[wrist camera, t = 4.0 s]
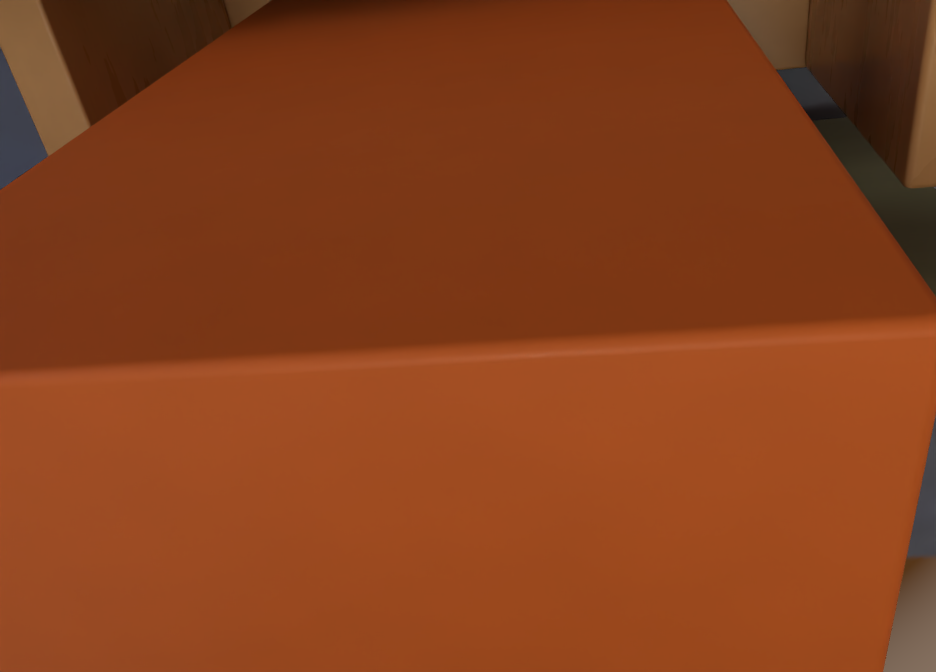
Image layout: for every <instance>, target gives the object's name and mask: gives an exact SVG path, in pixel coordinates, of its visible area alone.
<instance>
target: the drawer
mask: <svg viewBox="0 0 936 672" xmlns="http://www.w3.org/2000/svg"><path fill="white" fill-rule="evenodd" d="M270 1H271V0H0V47H1V49H2V51H3V54H4V56H5V58H6V60H7V63H8V65H9V67H10V70H11V72H12V74H13V76H14V79H15V81H16V83H17V85H18V88H19V90H20V92H21V95H22V97H23V99H24V101H25V104H26V106H27V108H28V111H29V113H30V115H31V117H32V120H33V122H34V124H35V127H36V129H37V131H38V133H39V136H40V138H41V140H42V143H43V145H44V147H45V149H46V152H47V154H48V156H50V155H51V154H53V153H54V152H55V151H57V150H58V149H60V148H61V147H63V146H64V145H65V144H67V143H68V142H70V141H71V140H73V139H74V138H75V137H77V136H78V135H80V134H81V133H83V132H84V131H85V130H87V129H88V128H90V127H91V126H93V125H94V124H95V123H97V122H98V121H100V120H101V119H103V118H104V117H105V116H107V115H108V114H110V113H111V112H113V111H114V110H115V109H117V108H118V107H120V106H121V105H123V104H124V103H125V102H127V101H128V100H130V99H131V98H133V97H134V96H135V95H137V94H138V93H140V92H141V91H143V90H144V89H145V88H147V87H148V86H150V85H151V84H153V83H154V82H155V81H157V80H158V79H160V78H161V77H163V76H164V75H165V74H167V73H168V72H170V71H171V70H173V69H174V68H176V67H177V66H178V65H180V64H181V63H183V62H184V61H186V60H187V59H188V58H190V57H191V56H193V55H194V54H196V53H197V52H198V51H200V50H201V49H203V48H204V47H206V46H207V45H208V44H210V43H211V42H213V41H214V40H216V39H217V38H218V37H220V36H221V35H223V34H224V33H226V32H227V31H228V30H230V29H231V28H233V27H234V26H236V25H237V24H238V23H240V22H241V21H243V20H244V19H246V18H247V17H248V16H250V15H251V14H253V13H254V12H256V11H257V10H258V9H260V8H261V7H263V6H264V5H266V4H267V3H268V2H270ZM727 1H728V3H729V4H730V6H731V7H732V8H733V10H734V11H735V13H736V14H737V16H738V17H739V18H740V20H741V21H742V23H743V24H744V25H745V27H746V28H747V30H748V31H749V33H750V34H751V35H752V37H753V38H754V40H755V41H756V42H757V44H758V45H759V47H760V48H761V50H762V51H763V52H764V54H765V55H766V57H767V58H768V59H769V61H770V62H771V64H772V65H773V67H774V68H775V69H776V70H784V69H793V68H802V67H807V69H808V70H809V71H810V72H811V74H812V75H813V76H814V77H815V79H816V80H817V81H818V82H819V83H820V85H821V86H822V87H823V88H824V89H825V91H826V92H827V93H828V94H829V96H830V97H831V98H832V99H833V100H834V102H835V103H836V104H837V105H838V107H839V108H840V109H841V110H842V111H843V113H844V114H845V115H846V116H847V117H845V118H835V119H825V120H815V121H812V122H813V123H814V125H815V126H816V127H817V129H818V130H819V132H820V133H821V135H822V136H823V137H824V139H825V140H826V142H827V143H828V144H829V146H830V147H831V149H832V150H833V152H834V153H835V154H836V156H837V157H838V159H839V160H840V161H841V163H842V164H843V166H844V167H845V169H846V170H847V171H848V173H849V174H850V176H851V177H852V178H853V180H854V181H855V183H856V184H857V186H858V187H859V188H860V190H861V191H862V193H863V194H864V196H865V197H866V198H867V200H868V201H869V203H870V204H871V205H872V207H873V208H874V210H875V211H876V213H877V214H878V215H879V217H880V218H881V220H882V221H883V222H884V224H885V225H886V227H887V228H888V230H889V231H890V232H891V234H892V235H893V237H894V238H895V239H896V241H897V242H898V244H899V245H900V247H901V248H902V249H903V251H904V252H905V254H906V255H907V256H908V258H909V259H910V261H911V262H912V264H913V265H914V266H915V268H916V269H917V271H918V272H919V273H920V275H921V276H922V278H923V279H924V281H925V282H926V283H927V285H928V286H929V288H930V289H931V290H932V292H933V293H934V295H935V296H936V189H935V188H934V187H936V0H727Z"/></svg>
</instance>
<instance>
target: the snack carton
mask: <svg viewBox="0 0 936 672" xmlns="http://www.w3.org/2000/svg"><path fill="white" fill-rule="evenodd" d="M935 415H936V296H935V295H934V293H933V292H932V290H931V289H930V288H929V286H928V285H927V283H926V282H925V281H924V279H923V278H922V276H921V275H920V273H919V272H918V271H917V269H916V268H915V266H914V265H913V264H912V262H911V261H910V259H909V258H908V256H907V255H906V254H905V252H904V251H903V249H902V248H901V247H900V245H899V244H898V242H897V241H896V239H895V238H894V237H893V235H892V234H891V232H890V231H889V230H888V228H887V227H886V225H885V224H884V222H883V221H882V220H881V218H880V217H879V215H878V214H877V213H876V211H875V210H874V208H873V207H872V205H871V204H870V203H869V201H868V200H867V198H866V197H865V196H864V194H863V193H862V191H861V190H860V188H859V187H858V186H857V184H856V183H855V181H854V180H853V178H852V177H851V176H850V174H849V173H848V171H847V170H846V169H845V167H844V166H843V164H842V163H841V161H840V160H839V159H838V157H837V156H836V154H835V153H834V152H833V150H832V149H831V147H830V146H829V144H828V143H827V142H826V140H825V139H824V137H823V136H822V135H821V133H820V132H819V130H818V129H817V127H816V126H815V125H814V123H813V122H812V120H811V119H810V118H809V116H808V115H807V113H806V112H805V110H804V109H803V108H802V106H801V105H800V103H799V102H798V101H797V99H796V98H795V96H794V95H793V93H792V92H791V91H790V89H789V88H788V86H787V85H786V84H785V82H784V81H783V79H782V78H781V76H780V75H779V74H778V72H777V71H776V69H775V68H774V67H773V65H772V64H771V62H770V61H769V59H768V58H767V57H766V55H765V54H764V52H763V51H762V50H761V48H760V47H759V45H758V44H757V42H756V41H755V40H754V38H753V37H752V35H751V34H750V33H749V31H748V30H747V28H746V27H745V25H744V24H743V23H742V21H741V20H740V18H739V17H738V16H737V14H736V13H735V11H734V10H733V8H732V7H731V6H730V4H729V3H728V1H727V0H271V1H270V2H268V3H267V4H266V5H264V6H263V7H261V8H260V9H258V10H257V11H256V12H254V13H253V14H251V15H250V16H248V17H247V18H246V19H244V20H243V21H241V22H240V23H238V24H237V25H236V26H234V27H233V28H231V29H230V30H228V31H227V32H226V33H224V34H223V35H221V36H220V37H218V38H217V39H216V40H214V41H213V42H211V43H210V44H208V45H207V46H206V47H204V48H203V49H201V50H200V51H198V52H197V53H196V54H194V55H193V56H191V57H190V58H188V59H187V60H186V61H184V62H183V63H181V64H180V65H178V66H177V67H176V68H174V69H173V70H171V71H170V72H168V73H167V74H165V75H164V76H163V77H161V78H160V79H158V80H157V81H155V82H154V83H153V84H151V85H150V86H148V87H147V88H145V89H144V90H143V91H141V92H140V93H138V94H137V95H135V96H134V97H133V98H131V99H130V100H128V101H127V102H125V103H124V104H123V105H121V106H120V107H118V108H117V109H115V110H114V111H113V112H111V113H110V114H108V115H107V116H105V117H104V118H103V119H101V120H100V121H98V122H97V123H95V124H94V125H93V126H91V127H90V128H88V129H87V130H85V131H84V132H83V133H81V134H80V135H78V136H77V137H75V138H74V139H73V140H71V141H70V142H68V143H67V144H65V145H64V146H63V147H61V148H60V149H58V150H57V151H55V152H54V153H53V154H51V155H50V156H48V157H47V158H45V159H44V160H43V161H41V162H40V163H38V164H37V165H35V166H34V167H33V168H31V169H30V170H28V171H27V172H25V173H24V174H23V175H21V176H20V177H18V178H17V179H15V180H14V181H12V182H11V183H10V184H8V185H7V186H5V187H4V188H2V189H1V190H0V672H883V669H884V664H885V659H886V654H887V649H888V645H889V639H890V635H891V630H892V625H893V620H894V615H895V610H896V605H897V601H898V595H899V591H900V586H901V581H902V576H903V571H904V566H905V562H906V557H907V552H908V547H909V542H910V537H911V532H912V527H913V522H914V518H915V513H916V508H917V503H918V498H919V493H920V488H921V483H922V479H923V474H924V469H925V464H926V459H927V454H928V449H929V444H930V439H931V435H932V430H933V425H934V420H935Z"/></svg>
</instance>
